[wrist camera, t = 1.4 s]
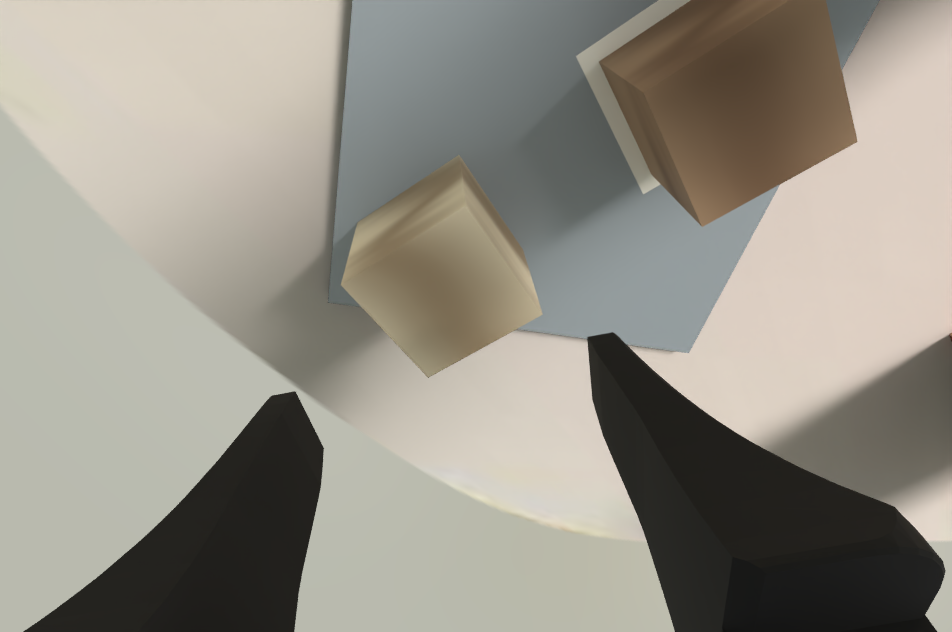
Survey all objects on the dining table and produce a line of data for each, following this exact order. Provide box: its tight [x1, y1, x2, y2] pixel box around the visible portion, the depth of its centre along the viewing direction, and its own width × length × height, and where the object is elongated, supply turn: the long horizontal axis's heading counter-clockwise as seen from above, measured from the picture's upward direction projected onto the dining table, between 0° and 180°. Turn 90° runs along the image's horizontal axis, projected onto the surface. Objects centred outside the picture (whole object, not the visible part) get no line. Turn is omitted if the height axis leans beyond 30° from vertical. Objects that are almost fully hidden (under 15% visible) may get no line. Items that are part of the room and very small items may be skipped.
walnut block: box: [599, 0, 857, 227], centre depth 16 cm, size 4×4×4 cm
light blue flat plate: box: [328, 0, 880, 353], centre depth 20 cm, size 16×15×1 cm
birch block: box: [341, 155, 543, 378], centre depth 19 cm, size 4×4×4 cm
